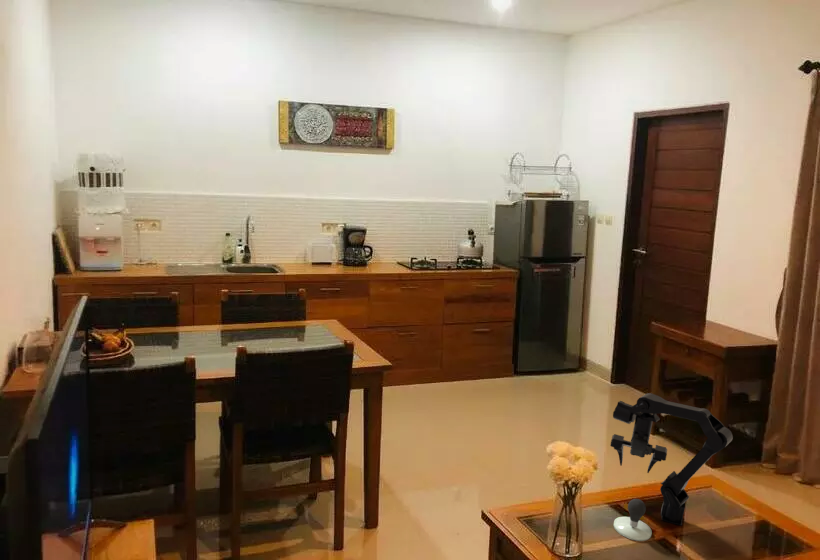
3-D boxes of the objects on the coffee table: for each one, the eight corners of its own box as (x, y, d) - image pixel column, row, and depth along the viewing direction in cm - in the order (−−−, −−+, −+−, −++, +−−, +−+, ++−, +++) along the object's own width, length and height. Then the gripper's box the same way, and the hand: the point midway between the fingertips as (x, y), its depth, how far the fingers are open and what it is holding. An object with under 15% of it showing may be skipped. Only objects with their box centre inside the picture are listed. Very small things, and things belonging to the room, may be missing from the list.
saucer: (652, 526, 222) (652, 523, 222) (650, 545, 211) (650, 542, 211) (615, 515, 226) (616, 512, 226) (611, 533, 216) (612, 530, 215)
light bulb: (642, 533, 215) (648, 506, 213) (625, 530, 216) (630, 502, 214) (640, 524, 221) (645, 497, 219) (623, 520, 222) (628, 494, 220)
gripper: (612, 430, 228) (604, 471, 231) (669, 444, 221) (660, 486, 225) (616, 418, 238) (608, 458, 242) (670, 432, 231) (662, 472, 235)
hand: (634, 468), depth 235 cm, fingers open, 9 cm apart
